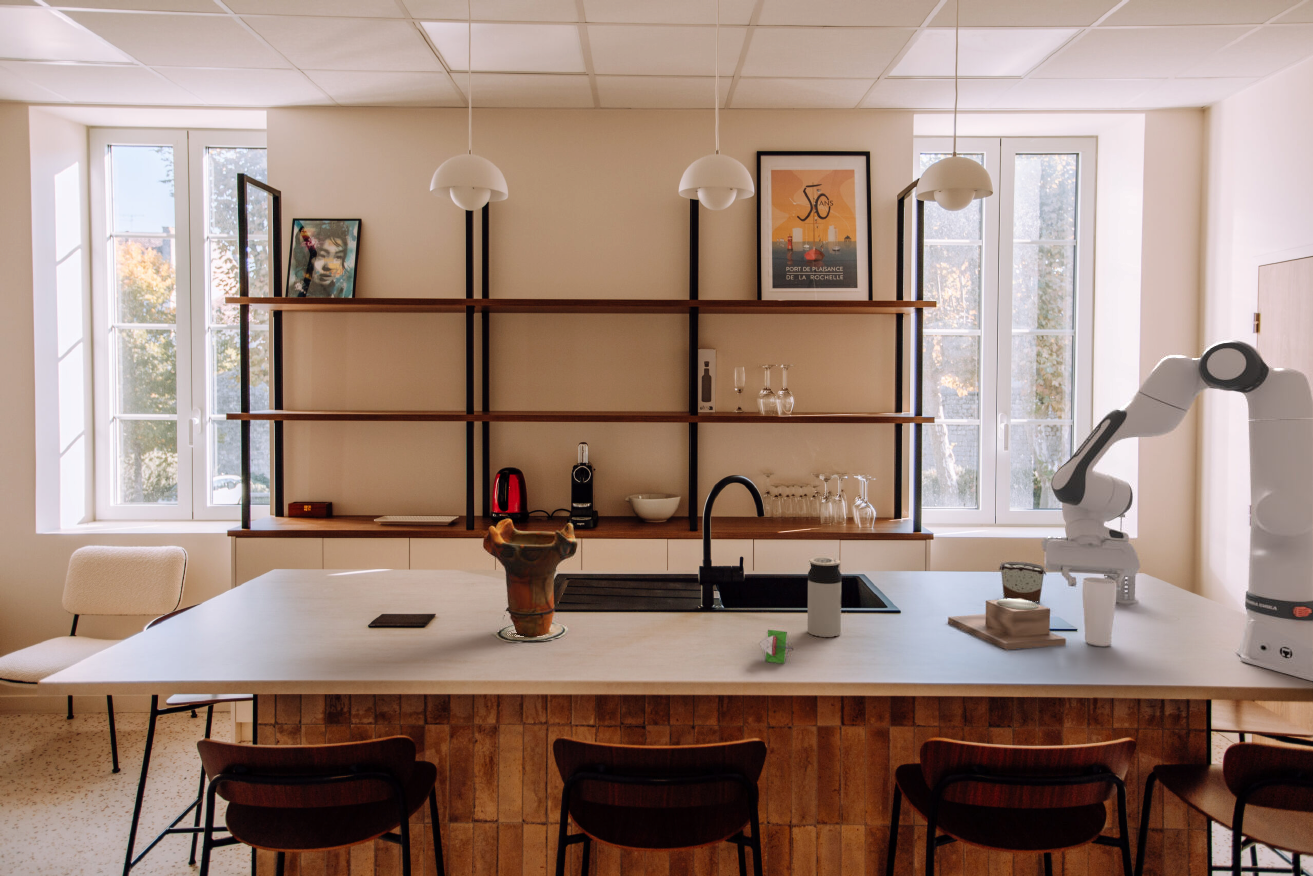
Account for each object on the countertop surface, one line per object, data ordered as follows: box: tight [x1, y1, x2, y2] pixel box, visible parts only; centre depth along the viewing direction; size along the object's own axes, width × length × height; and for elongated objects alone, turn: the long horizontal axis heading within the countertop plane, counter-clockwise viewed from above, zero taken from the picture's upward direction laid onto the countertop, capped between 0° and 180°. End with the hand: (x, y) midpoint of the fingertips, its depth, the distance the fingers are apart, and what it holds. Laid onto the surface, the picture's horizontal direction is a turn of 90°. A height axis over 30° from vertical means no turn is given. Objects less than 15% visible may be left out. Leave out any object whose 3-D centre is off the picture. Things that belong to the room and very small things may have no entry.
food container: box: [998, 561, 1047, 602], centre depth 218 cm, size 12×6×10 cm, turn 58°
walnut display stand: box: [947, 598, 1067, 651], centre depth 184 cm, size 22×16×8 cm
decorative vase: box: [482, 518, 579, 644], centre depth 185 cm, size 21×23×28 cm
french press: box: [1103, 513, 1140, 604], centre depth 215 cm, size 10×12×25 cm
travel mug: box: [807, 557, 842, 638], centre depth 184 cm, size 8×8×18 cm
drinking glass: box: [1082, 577, 1116, 648], centre depth 176 cm, size 7×7×15 cm
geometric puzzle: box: [758, 629, 794, 665], centre depth 164 cm, size 7×7×8 cm
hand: (1094, 586), depth 180 cm, fingers open, 8 cm apart
